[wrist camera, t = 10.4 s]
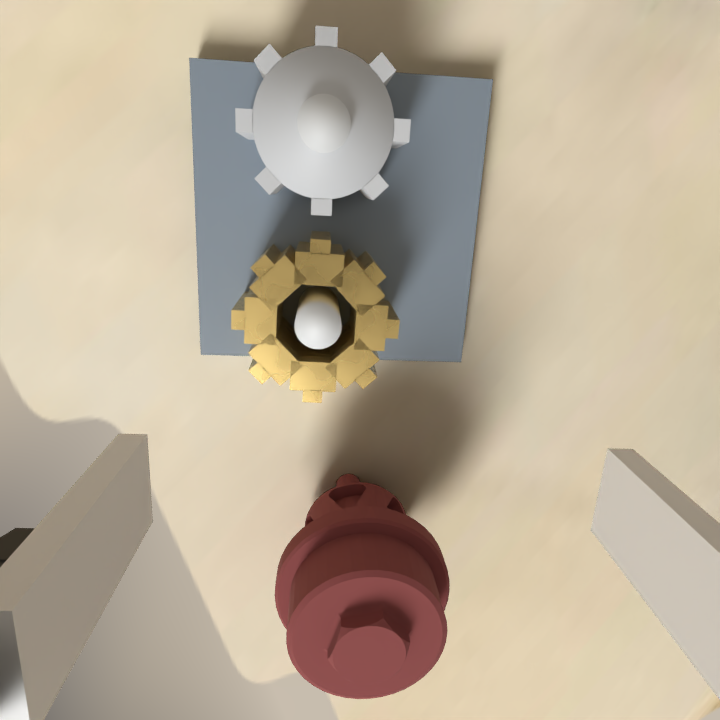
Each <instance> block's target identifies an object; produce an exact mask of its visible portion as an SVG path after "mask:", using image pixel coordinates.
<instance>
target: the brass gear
mask: <svg viewBox="0 0 720 720" xmlns="http://www.w3.org/2000/svg"><path fill="white" fill-rule="evenodd" d="M250 268H251V269H252V271H253V272H254V273H255V274H256V275H257V277H256V278H255V280H254V281H253V283H252V284H251V285H250V287H249V288H250V290H249V292H244V293H243V295H242V296H241V297H240V299H239V300H238V302H237V303H236V304H235V306H234V307H233V308H232V310H231V329H232V330H244V344H252V345H251V347H250V350H249V352H248V354H249V355H250V356H251V357H252V358H253V360H252V363H251V365H250V368H249V372H250V373H251V374H252V375H253V376H254V377H255V378H256V379H257V380H258V381H259V382H260V383H261V384H263V383H264V382H265V381H266V380H267V379H269V378H270V377H272V378H273V379H274V380H275V381H276V382H277V383H278V384H279V385H280V386H281V385H282V384H283V383H284V382H285V381H286V380H288V379H289V378H290V390H303V402H315V403H321V402H322V391H324V392H335V390H336V380H337V381H338V382H339V383H340V384H341V385H342V386H343V387H344V388H347V387H348V386H349V385H350V384H351V383H353V382H354V381H356V382H357V383H358V384H359V385H360V386H361V388H362V389H364V388H365V387H366V386H367V385H369V384H370V383H371V382H372V381H373V380H375V379H376V378H377V374H376V371H375V367H374V364H375V363H377V362H378V361H379V357H378V354H377V351H384V349H385V339H386V338H391V339H398V334H399V324H400V319H399V318H398V316H397V314H396V313H395V311H394V309H393V307H392V306H391V304H390V302H389V301H388V300H385V299H384V297H385V294H384V293H383V291H382V289H381V287H380V286H379V283H380V282H381V281H382V280H384V279H385V278H386V276H385V274H384V273H383V271H382V270H381V269H380V267H379V266H378V264H377V263H376V262H375V261H374V259H373V258H372V257H371V256H370V255H369V254H368V252H367V251H365V252H363V253H362V254H361V255H360V256H359V257H358V258H357V257H356V256H355V255H354V253H353V252H352V251H351V250H350V249H348V250H347V251H346V252H345V253H344V252H343V249H342V246H341V244H331V237H330V232H323V231H312V234H311V239H310V242H300V241H299V244H298V246H297V249H296V250H295V249H294V248H293V247H292V246H291V244H290V245H289V246H288V247H287V248H286V249H285V250H284V251H283V252H282V253H281V251H280V250H279V249H278V248H277V247H276V246H275V245H274V244H273V245H272V246H271V247H270V248H269V249H267V250H266V251H265V252H264V253H263V254H262V255H261V256H260V257H259V258H258V259H257V261H256V262H255V263H254V264H253V265H252V266H251V267H250ZM301 285H315V286H331V287H336V288H337V290H338V291H339V292H340V293H341V294H342V295H343V296H344V297H345V299H346V300H347V301H348V302H349V303H350V304H351V306H350V320H349V321H348V322H346V323H345V324H344V325H343V326H342V329H341V334H340V336H339V338H338V339H337V341H336V342H335V343H334V344H332V345H331V346H329V347H327V348H324V349H313V348H309V347H307V346H305V345H304V344H303V343H301V341H300V340H299V339H298V337H297V336H296V333H295V328H294V327H293V326H292V325H291V324H290V323H289V322H288V321H287V320H286V319H285V318H284V317H283V301H284V300H285V299H286V298H287V297H288V296H289V295H290V294H292V293H293V292H294V291H295V290H296V289H297V288H298V287H299V286H301Z"/></svg>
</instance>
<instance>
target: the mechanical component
mask: <svg viewBox="0 0 720 720" xmlns="http://www.w3.org/2000/svg"><path fill="white" fill-rule="evenodd" d="M448 596H449V576H448V570H447V567H446V564H445V561H444V558H443V555H442V552H441V550H440V548H439V546H438V544H437V542H436V541H435V539H434V538H433V536H432V535H431V534H430V533H429V532H428V530H427V529H426V528H425V527H423V526H422V525H421V524H420V523H418V522H417V521H416V520H414V519H412V518H411V517H409V516H407V515H406V513H405V510H404V508H403V506H402V504H401V503H400V501H399V500H398V499H397V498H396V497H395V496H394V495H393V494H392V493H391V492H389V491H388V490H386V489H384V488H382V487H380V486H377V485H375V484H370V483H365V482H360V481H359V479H358V478H357V477H356V476H355V475H353V474H345V475H342V476H341V477H340V478H339V479H338V480H337V483H336V487H334V488H332V489H330V490H328V491H327V492H325V493H324V494H322V495H321V496H320V497H319V498H318V499H317V500H316V501H315V502H314V504H313V505H312V506H311V508H310V510H309V512H308V514H307V518H306V522H305V527H304V528H302V529H301V530H300V531H299V532H298V533H297V534H296V535H295V536H294V537H293V538H292V540H291V541H290V543H289V544H288V545H287V547H286V549H285V550H284V552H283V554H282V556H281V559H280V562H279V565H278V571H277V577H276V586H275V601H276V608H277V611H278V614H279V617H280V619H281V621H282V623H283V625H284V627H285V628H286V629H287V643H286V644H287V649H288V654H289V656H290V659H291V661H292V663H293V665H294V666H295V668H296V669H297V671H298V672H299V673H300V674H301V675H302V676H303V678H304V679H306V680H307V681H308V682H309V683H311V684H312V685H313V686H315V687H317V688H319V689H321V690H322V691H325V692H327V693H330V694H333V695H336V696H340V697H345V698H354V699H370V698H377V697H383V696H387V695H390V694H394V693H396V692H399V691H401V690H404V689H406V688H407V687H409V686H411V685H413V684H415V683H416V682H417V681H419V680H420V679H421V678H423V677H424V676H425V675H426V674H427V673H428V672H429V671H430V670H431V669H432V668H433V666H434V665H435V664H436V662H437V661H438V660H439V658H440V656H441V654H442V652H443V649H444V646H445V643H446V638H447V621H446V617H445V614H444V610H445V607H446V604H447V601H448Z"/></svg>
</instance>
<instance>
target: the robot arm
mask: <svg viewBox="0 0 720 720" xmlns="http://www.w3.org/2000/svg"><path fill="white" fill-rule="evenodd" d="M152 522H153V517H152V501H151V485H150V470H149V454H148V438H147V435H145V434H118V435H117V436H116V438H115V439H114V440H113V441H112V442H111V443H110V444H109V445H108V447H107V448H106V449H105V450H104V451H103V452H102V453H101V455H100V456H99V457H98V458H97V459H96V460H95V461H94V462H93V464H92V465H91V466H90V467H89V468H88V469H87V470H86V471H85V473H84V474H83V475H82V476H81V477H80V478H79V479H78V480H77V482H76V483H75V484H74V485H73V486H72V487H71V488H70V490H68V492H67V493H66V494H65V495H64V496H63V497H62V498H61V500H60V501H59V502H58V503H57V504H56V505H55V506H54V507H53V509H52V510H51V511H50V512H49V513H48V514H47V515H46V516H45V518H44V519H43V520H42V521H41V522H40V523H39V524H38V526H37V527H36V528H15V529H13V530H12V531H10V532H9V533H7V534H5V535H3V536H2V537H0V720H44V719H45V717H46V715H47V713H48V711H49V710H50V708H51V706H52V704H53V702H54V700H55V699H56V697H57V695H58V693H59V691H60V690H61V688H62V686H63V684H64V682H65V680H66V679H67V677H68V675H69V673H70V671H71V669H72V668H73V666H74V664H75V662H76V660H77V658H78V657H79V655H80V653H81V651H82V649H83V648H84V646H85V644H86V642H87V640H88V638H89V637H90V635H91V633H92V631H93V629H94V628H95V626H96V624H97V622H98V620H99V618H100V616H101V615H102V613H103V611H104V609H105V607H106V605H107V604H108V602H109V600H110V598H111V597H112V595H113V593H114V591H115V589H116V587H117V586H118V584H119V582H120V580H121V578H122V576H123V575H124V573H125V571H126V569H127V567H128V566H129V564H130V562H131V560H132V558H133V556H134V554H135V553H136V551H137V549H138V547H139V545H140V544H141V542H142V540H143V538H144V536H145V534H146V533H147V531H148V529H149V527H150V525H151V523H152ZM591 531H592V533H593V534H594V535H595V537H596V538H597V539H598V541H599V542H600V543H601V545H602V546H603V547H604V548H605V550H606V551H607V552H608V554H609V555H610V556H611V558H612V559H613V560H614V562H615V563H616V564H617V566H618V567H619V568H620V570H621V571H622V572H623V573H624V575H625V576H626V577H627V579H628V580H629V581H630V583H631V584H632V585H633V587H634V588H635V589H636V591H637V592H638V593H639V594H640V596H641V597H642V598H643V600H644V601H645V602H646V604H647V605H648V606H649V608H650V609H651V610H652V612H653V613H654V614H655V616H656V617H657V618H658V619H659V621H660V622H661V623H662V625H663V626H664V627H665V629H666V630H667V631H668V633H669V634H670V635H671V637H672V638H673V639H674V640H675V642H676V643H677V644H678V646H679V647H680V648H681V650H682V651H683V652H684V654H685V655H686V656H687V658H688V659H689V660H690V662H691V663H692V664H693V665H694V667H695V668H696V669H697V671H698V672H699V673H700V675H701V676H702V677H703V679H704V680H705V681H706V683H707V684H708V685H709V687H710V688H711V689H712V690H713V692H714V693H715V694H716V696H717V697H718V698H719V700H720V523H718V522H717V521H716V520H715V519H714V518H713V517H711V516H710V515H709V514H708V513H707V512H706V511H704V510H703V509H702V508H701V507H700V506H699V505H697V504H696V503H695V502H694V501H693V500H692V499H690V498H689V497H688V496H687V495H686V494H685V493H683V492H682V491H681V490H680V489H679V488H678V487H676V486H675V485H674V484H673V483H672V482H671V481H669V480H668V479H667V478H666V477H665V476H664V475H662V474H661V473H660V472H659V471H658V470H657V469H655V468H654V467H653V466H652V465H651V464H650V463H648V462H647V461H646V460H645V459H644V458H643V457H641V456H640V455H639V454H638V453H637V452H636V451H635V450H633V449H607V454H606V459H605V463H604V468H603V473H602V478H601V483H600V488H599V492H598V497H597V502H596V507H595V512H594V517H593V521H592V526H591Z"/></svg>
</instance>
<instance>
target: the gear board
mask: <svg viewBox="0 0 720 720" xmlns="http://www.w3.org/2000/svg"><path fill="white" fill-rule="evenodd" d="M337 43H338V27H327V26H315V46H310V47H305V48H302V49H299V50H296V51H294V52H292V53H290V54H288V55H287V56H285V57H284V58H281V57H280V55H279V54H278V53H277V52H276V51H275V49H274V48H273V47H272V46H271V45H270V44H268V45H267V47H266V48H265V49H264V50H263V51H262V52H261V53H260V54H259V55H258V56H257V57H256V58H255V59H254V62H255V63H254V62H240V61H226V60H212V59H198V58H189V61H190V87H191V113H192V139H193V165H194V190H195V216H196V242H197V268H198V294H199V320H200V346H201V355H233V356H250V355H249V354H248V352H249V350H250V347H251V345H252V344H244V330H232V329H231V310H232V308H233V307H234V306H235V304H236V303H237V302H238V300H239V299H240V297H241V296H242V295H243V293H244V292H249V290H250V288H249V287H250V285H251V284H252V283H253V281H254V280H255V278H256V277H257V275H256V274H255V273H254V272H253V271H252V269H251V268H250V267H251V266H252V265H253V264H254V263H255V262H256V261H257V259H258V258H259V257H260V256H261V255H262V254H263V253H264V252H265V251H266V250H267V249H269V248H270V247H271V246H272V245H273V244H274V245H275V246H276V247H277V248H278V249H279V250H280V251H281V253H282V252H283V251H284V250H285V249H286V248H287V247H288V246H289V245H290V244H291V246H292V247H293V248H294V249H295V250H296V249H297V246H298V244H299V241H300V242H310V239H311V234H312V231H323V232H330V237H331V244H341V246H342V249H343V252H344V253H345V252H346V251H347V250H348V249H350V250H351V251H352V252H353V253H354V255H355V256H356V257H357V258H358V257H359V256H360V255H361V254H362V253H363V252H365V251H367V252H368V254H369V255H370V256H371V257H372V258H373V259H374V261H375V262H376V263H377V264H378V266H379V267H380V269H381V270H382V271H383V273H384V274H385V276H386V278H385V279H384V280H382V281H381V282H380V283H379V286H380V287H381V289H382V291H383V293H384V294H385V297H384V299H385V300H388V301H389V302H390V304H391V306H392V307H393V309H394V311H395V313H396V314H397V316H398V318H399V319H400V324H399V334H398V339H391V338H386V339H385V349H384V351H377V354H378V357H379V360H408V361H442V362H461V358H462V349H463V340H464V331H465V323H466V314H467V305H468V296H469V287H470V278H471V269H472V260H473V252H474V243H475V234H476V225H477V216H478V207H479V198H480V189H481V181H482V172H483V163H484V154H485V145H486V136H487V127H488V118H489V109H490V101H491V92H492V83H493V79H480V78H466V77H452V76H438V75H424V74H409V73H395V72H396V69H395V68H394V67H393V65H392V64H391V63H390V62H389V60H388V59H387V58H386V56H385V55H384V54H383V53H382V52H381V53H380V54H379V55H378V56H377V57H376V58H375V59H374V60H373V61H372V62H371V63H370V64H367V63H366V62H365V61H364V60H363V59H361V58H360V57H358V56H357V55H355V54H353V53H351V52H349V51H347V50H344V49H341V48H338V47H337ZM350 306H351V304H350V303H349V302H348V301H347V300H346V299H345V297H344V296H343V295H342V294H341V293H340V292H339V291H338V290H337V288H336V287H331V286H315V285H301V286H299V287H298V288H297V289H296V290H295V291H294V292H293V293H292V294H290V295H289V296H288V297H287V298H286V299H285V300H284V301H283V317H284V318H285V319H286V320H287V321H288V322H289V323H290V324H291V325H292V326H293V327H294V328H295V333H296V336H297V337H298V339H299V340H300V341H301V343H303V344H304V345H305V346H307V347H309V348H313V349H324V348H327V347H329V346H331V345H332V344H334V343H335V342H336V341H337V339H338V338H339V336H340V334H341V329H342V326H343V325H344V324H345V323H346V322H348V321H349V320H350Z"/></svg>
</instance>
